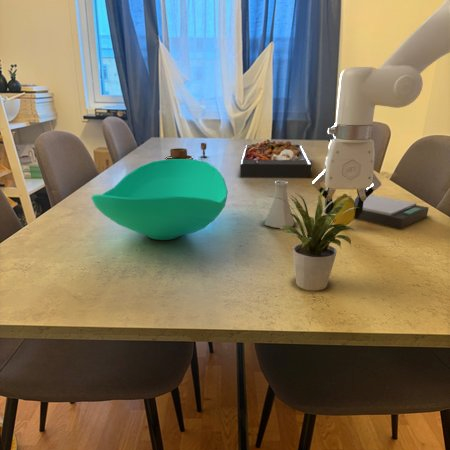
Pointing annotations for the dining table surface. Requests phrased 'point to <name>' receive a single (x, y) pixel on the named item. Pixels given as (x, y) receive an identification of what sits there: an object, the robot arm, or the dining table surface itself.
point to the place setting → (184, 153)
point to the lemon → (348, 215)
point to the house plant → (316, 244)
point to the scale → (391, 211)
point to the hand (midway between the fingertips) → (342, 215)
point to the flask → (280, 208)
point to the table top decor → (166, 198)
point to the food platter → (275, 160)
